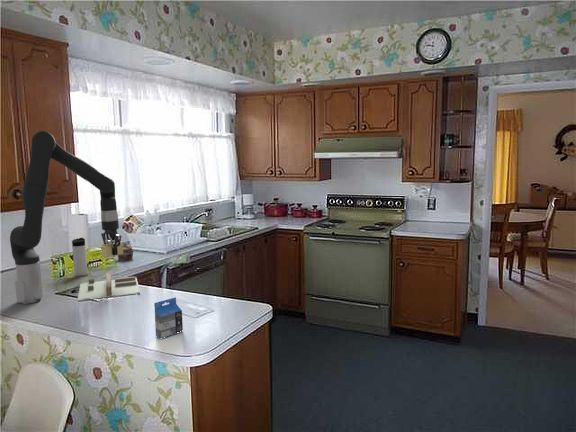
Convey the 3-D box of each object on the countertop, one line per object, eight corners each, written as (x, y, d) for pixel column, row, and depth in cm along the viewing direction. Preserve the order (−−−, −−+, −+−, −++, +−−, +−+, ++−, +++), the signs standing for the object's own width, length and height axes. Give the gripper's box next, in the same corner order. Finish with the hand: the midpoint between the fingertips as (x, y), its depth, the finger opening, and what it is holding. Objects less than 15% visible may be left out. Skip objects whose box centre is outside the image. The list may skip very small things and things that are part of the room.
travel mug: (90, 274, 236) (87, 237, 233) (83, 277, 229) (80, 240, 226) (79, 274, 237) (76, 237, 234) (72, 277, 230) (69, 240, 227)
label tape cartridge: (161, 339, 153) (159, 305, 151) (155, 336, 155) (153, 303, 154) (183, 332, 159) (181, 299, 157) (177, 329, 162) (175, 297, 160)
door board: (140, 294, 202) (139, 283, 201) (77, 302, 192) (76, 291, 191) (136, 279, 226) (135, 269, 225) (80, 285, 216) (79, 275, 215)
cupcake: (117, 258, 271) (116, 242, 269) (134, 257, 274) (133, 241, 272) (116, 262, 262) (115, 245, 260) (133, 260, 265) (132, 244, 263)
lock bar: (106, 257, 208) (105, 245, 207) (102, 256, 210) (101, 244, 209) (123, 253, 215) (122, 241, 214) (119, 252, 217) (118, 241, 216)
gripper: (125, 219, 208) (128, 254, 211) (108, 217, 217) (111, 251, 220) (110, 221, 202) (114, 258, 205) (94, 219, 211) (97, 254, 214)
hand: (112, 254), depth 212 cm, fingers closed on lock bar, 3 cm apart
